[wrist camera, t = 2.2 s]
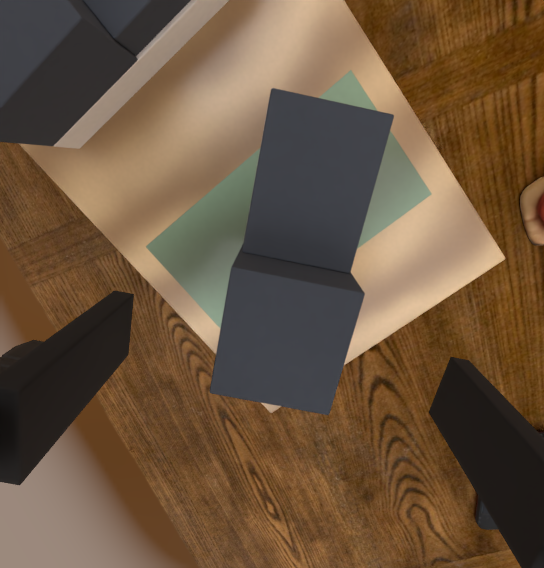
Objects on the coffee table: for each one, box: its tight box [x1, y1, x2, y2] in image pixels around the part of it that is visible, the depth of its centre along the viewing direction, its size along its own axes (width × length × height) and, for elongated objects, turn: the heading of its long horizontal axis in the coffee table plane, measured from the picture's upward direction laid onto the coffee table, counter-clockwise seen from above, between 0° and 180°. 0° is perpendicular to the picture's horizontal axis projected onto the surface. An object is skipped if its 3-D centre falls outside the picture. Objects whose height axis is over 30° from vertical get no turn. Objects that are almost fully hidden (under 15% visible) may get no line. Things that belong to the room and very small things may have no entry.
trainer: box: [210, 88, 394, 415], centre depth 18 cm, size 13×6×8 cm, turn 169°
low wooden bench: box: [19, 0, 505, 413], centre depth 25 cm, size 30×18×10 cm, turn 39°
